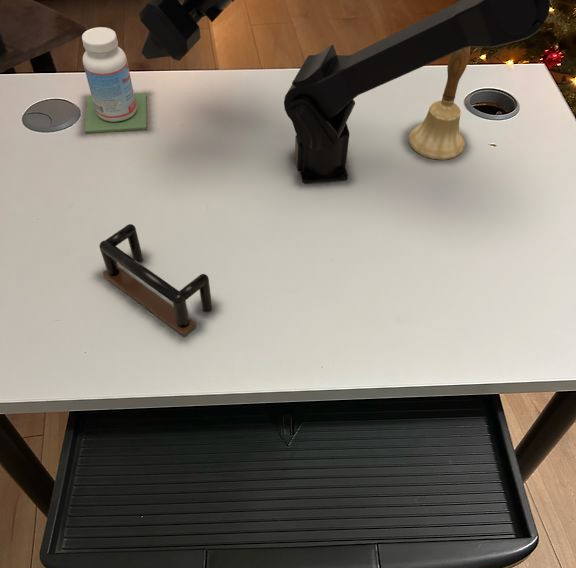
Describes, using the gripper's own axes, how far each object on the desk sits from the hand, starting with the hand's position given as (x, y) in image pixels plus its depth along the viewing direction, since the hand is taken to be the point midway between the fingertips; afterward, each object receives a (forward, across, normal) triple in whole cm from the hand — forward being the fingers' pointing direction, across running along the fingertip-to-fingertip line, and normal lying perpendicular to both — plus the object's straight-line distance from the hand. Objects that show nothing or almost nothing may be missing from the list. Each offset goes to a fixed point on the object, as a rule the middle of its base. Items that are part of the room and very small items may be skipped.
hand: (161, 37), depth 79 cm
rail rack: (+1, +29, +19) cm, 35 cm away
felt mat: (+17, 0, +2) cm, 17 cm away
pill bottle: (+17, 0, +2) cm, 17 cm away
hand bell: (-16, -13, +36) cm, 41 cm away
